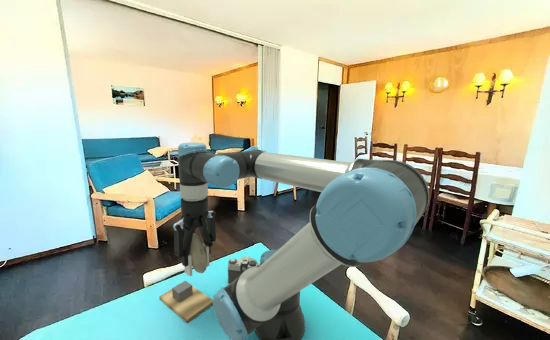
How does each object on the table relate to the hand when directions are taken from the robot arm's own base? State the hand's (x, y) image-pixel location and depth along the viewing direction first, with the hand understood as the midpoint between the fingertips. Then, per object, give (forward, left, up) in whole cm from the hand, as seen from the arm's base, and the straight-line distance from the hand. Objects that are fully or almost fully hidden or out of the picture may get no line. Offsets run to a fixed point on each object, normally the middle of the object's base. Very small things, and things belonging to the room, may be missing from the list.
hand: (197, 269), depth 74 cm
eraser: (+9, 0, -14) cm, 17 cm away
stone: (0, 0, -1) cm, 1 cm away
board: (+7, 0, -15) cm, 17 cm away
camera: (-2, -22, -16) cm, 27 cm away
